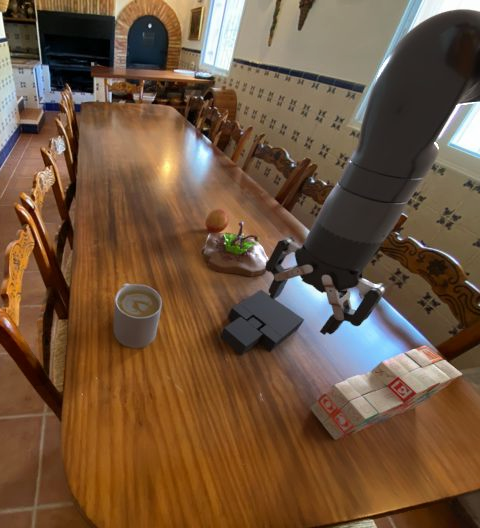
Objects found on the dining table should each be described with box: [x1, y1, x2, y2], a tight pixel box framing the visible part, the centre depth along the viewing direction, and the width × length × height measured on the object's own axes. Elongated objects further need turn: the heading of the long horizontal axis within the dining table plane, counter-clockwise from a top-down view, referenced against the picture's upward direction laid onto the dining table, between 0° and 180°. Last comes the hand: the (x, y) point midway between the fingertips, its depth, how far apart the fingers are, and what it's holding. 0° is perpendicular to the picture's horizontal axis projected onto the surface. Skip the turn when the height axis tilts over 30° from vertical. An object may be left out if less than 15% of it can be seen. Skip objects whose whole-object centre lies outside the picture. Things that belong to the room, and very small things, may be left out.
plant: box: [200, 221, 269, 278], centre depth 90 cm, size 20×20×11 cm
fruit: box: [205, 208, 230, 233], centre depth 102 cm, size 8×8×8 cm
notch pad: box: [227, 289, 305, 353], centre depth 72 cm, size 12×12×4 cm
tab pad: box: [219, 317, 262, 357], centre depth 68 cm, size 6×8×4 cm
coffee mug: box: [112, 283, 163, 349], centre depth 67 cm, size 13×10×10 cm
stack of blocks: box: [309, 345, 463, 441], centre depth 54 cm, size 21×6×12 cm, turn 109°
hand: (298, 313), depth 47 cm, fingers open, 8 cm apart
